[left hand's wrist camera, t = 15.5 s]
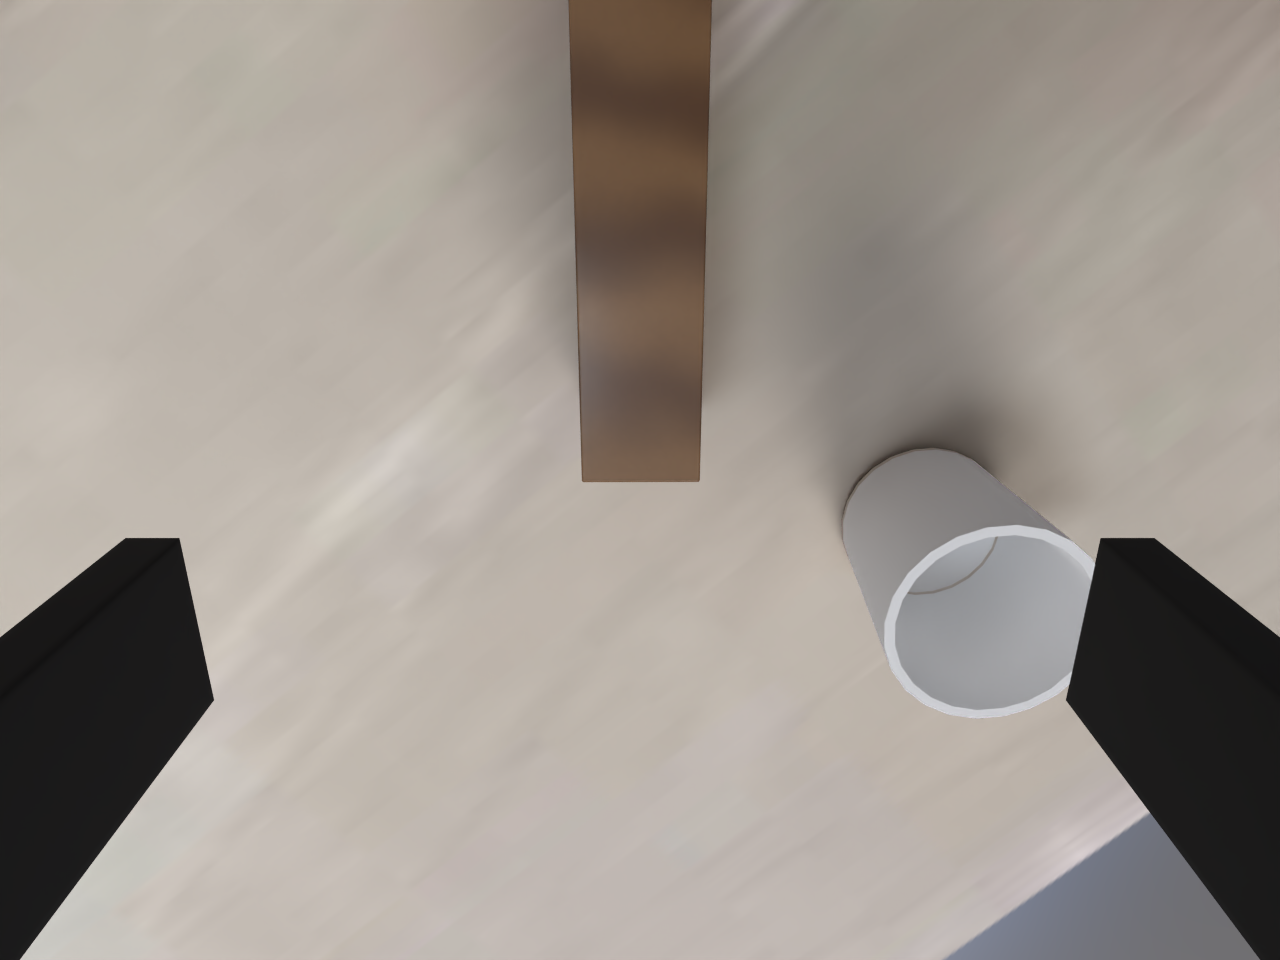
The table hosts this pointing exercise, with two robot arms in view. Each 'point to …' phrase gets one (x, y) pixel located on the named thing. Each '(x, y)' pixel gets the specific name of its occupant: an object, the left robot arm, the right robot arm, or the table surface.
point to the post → (640, 233)
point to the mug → (965, 584)
